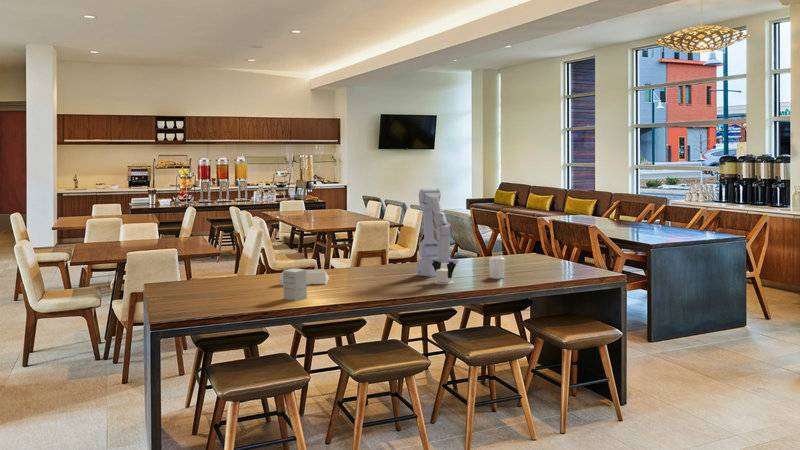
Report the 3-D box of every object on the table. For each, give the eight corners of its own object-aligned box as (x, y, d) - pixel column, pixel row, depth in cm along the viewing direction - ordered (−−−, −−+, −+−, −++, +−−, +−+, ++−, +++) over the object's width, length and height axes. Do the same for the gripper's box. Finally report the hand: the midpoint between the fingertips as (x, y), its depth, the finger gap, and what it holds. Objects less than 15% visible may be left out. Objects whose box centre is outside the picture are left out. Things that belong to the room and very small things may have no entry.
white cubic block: (435, 281, 347) (435, 270, 347) (442, 279, 352) (441, 268, 351) (446, 282, 344) (446, 271, 343) (452, 280, 349) (452, 269, 348)
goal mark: (429, 283, 346) (429, 282, 346) (440, 279, 355) (440, 279, 355) (447, 285, 341) (447, 284, 341) (457, 281, 349) (457, 281, 349)
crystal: (327, 273, 354) (278, 275, 349) (328, 268, 348) (278, 270, 343) (328, 287, 351) (278, 290, 346) (330, 282, 345) (279, 285, 340)
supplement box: (294, 296, 318) (294, 267, 317) (307, 298, 314) (306, 269, 313) (283, 299, 312) (282, 270, 311) (295, 301, 308) (295, 271, 307)
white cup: (504, 279, 355) (504, 259, 354) (488, 278, 357) (488, 258, 356) (505, 276, 363) (505, 256, 362) (489, 276, 364) (489, 256, 363)
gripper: (426, 249, 347) (426, 277, 348) (453, 251, 339) (453, 280, 340) (434, 247, 353) (434, 275, 354) (460, 249, 345) (460, 277, 346)
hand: (444, 277), depth 348 cm, fingers closed on white cubic block, 6 cm apart
